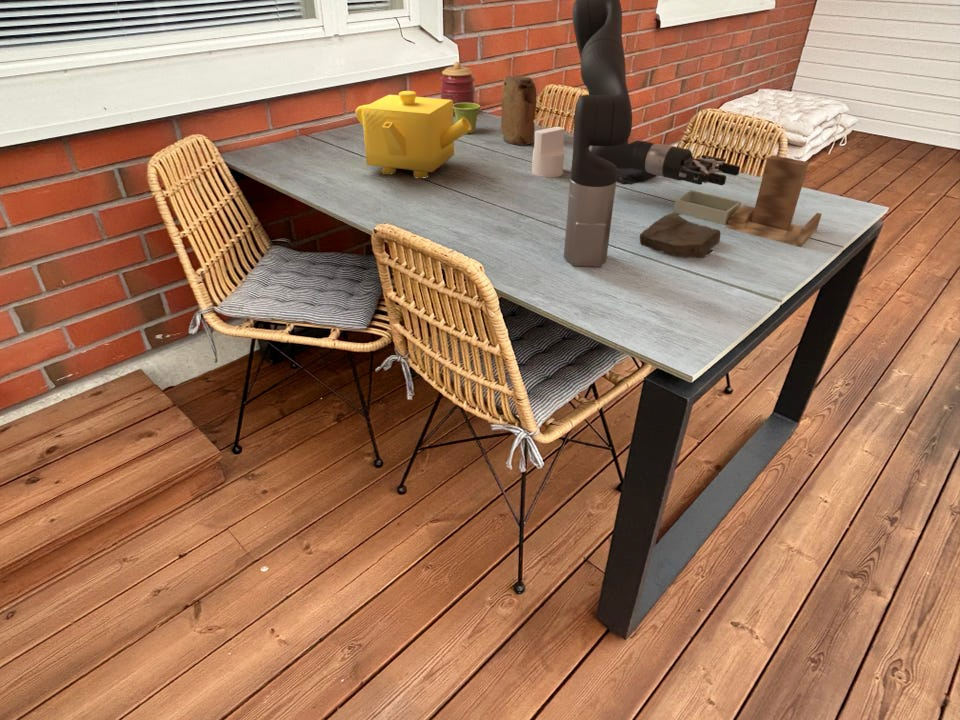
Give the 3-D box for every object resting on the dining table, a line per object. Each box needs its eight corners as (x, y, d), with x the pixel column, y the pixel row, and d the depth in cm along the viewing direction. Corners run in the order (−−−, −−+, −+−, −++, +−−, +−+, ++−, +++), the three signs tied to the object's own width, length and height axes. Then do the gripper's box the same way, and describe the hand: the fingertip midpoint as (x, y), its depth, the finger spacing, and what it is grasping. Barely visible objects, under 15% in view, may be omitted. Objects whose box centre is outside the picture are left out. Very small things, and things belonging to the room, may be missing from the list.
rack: (723, 231, 152) (728, 211, 150) (741, 216, 160) (746, 196, 157) (799, 251, 143) (806, 229, 141) (815, 234, 151) (821, 213, 148)
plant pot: (468, 126, 228) (468, 101, 223) (485, 132, 222) (485, 106, 217) (447, 131, 223) (446, 105, 218) (464, 137, 217) (464, 110, 212)
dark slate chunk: (606, 158, 200) (608, 143, 197) (663, 177, 186) (666, 160, 183) (571, 168, 192) (572, 151, 190) (628, 188, 178) (630, 171, 175)
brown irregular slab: (667, 226, 156) (670, 209, 153) (725, 243, 148) (730, 225, 145) (632, 247, 145) (634, 230, 143) (693, 267, 137) (697, 249, 135)
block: (498, 140, 214) (499, 75, 203) (514, 136, 218) (517, 72, 207) (521, 147, 207) (524, 81, 196) (537, 143, 211) (541, 78, 200)
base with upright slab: (545, 179, 182) (548, 136, 176) (525, 171, 188) (527, 128, 182) (569, 173, 187) (572, 130, 180) (548, 165, 193) (551, 124, 186)
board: (750, 226, 152) (767, 158, 143) (754, 222, 154) (771, 155, 145) (784, 234, 148) (804, 165, 139) (788, 230, 150) (808, 162, 141)
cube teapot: (335, 179, 182) (325, 99, 170) (381, 149, 205) (375, 78, 193) (451, 193, 172) (449, 110, 160) (486, 161, 196) (487, 86, 184)
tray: (672, 215, 160) (675, 200, 158) (687, 205, 166) (690, 190, 164) (723, 228, 154) (727, 212, 151) (737, 217, 159) (741, 201, 157)
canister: (457, 118, 238) (457, 66, 228) (433, 112, 245) (431, 61, 235) (481, 112, 246) (482, 61, 236) (457, 106, 253) (457, 57, 243)
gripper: (657, 153, 153) (724, 167, 145) (683, 139, 162) (747, 152, 154) (652, 184, 157) (717, 200, 149) (677, 169, 167) (739, 183, 158)
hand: (732, 175), depth 152 cm, fingers open, 8 cm apart
